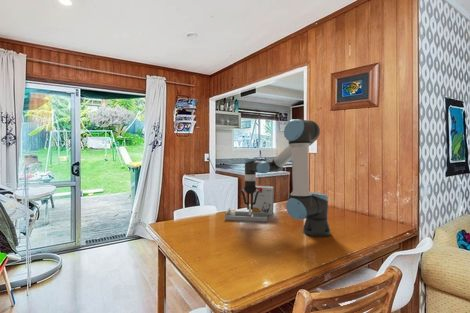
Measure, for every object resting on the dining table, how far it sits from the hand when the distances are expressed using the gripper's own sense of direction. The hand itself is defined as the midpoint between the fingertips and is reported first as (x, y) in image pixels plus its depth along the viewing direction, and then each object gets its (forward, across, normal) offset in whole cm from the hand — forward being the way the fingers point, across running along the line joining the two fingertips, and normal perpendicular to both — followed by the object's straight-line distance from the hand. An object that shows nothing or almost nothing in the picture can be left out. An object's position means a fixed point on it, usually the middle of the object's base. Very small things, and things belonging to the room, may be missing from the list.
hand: (249, 214), depth 177 cm
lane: (+3, +2, 0) cm, 4 cm away
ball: (0, +12, -1) cm, 12 cm away
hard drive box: (+3, -8, -17) cm, 19 cm away
